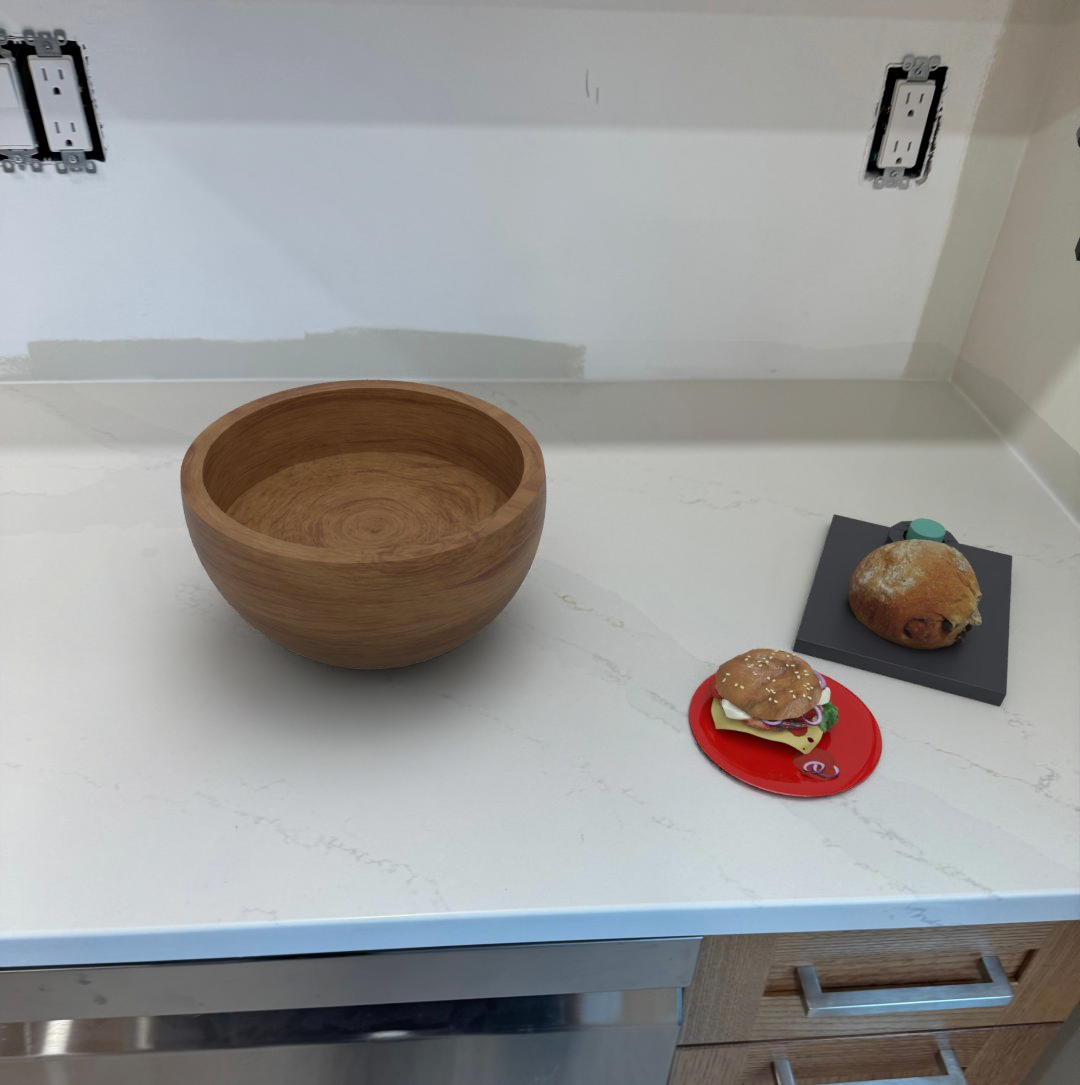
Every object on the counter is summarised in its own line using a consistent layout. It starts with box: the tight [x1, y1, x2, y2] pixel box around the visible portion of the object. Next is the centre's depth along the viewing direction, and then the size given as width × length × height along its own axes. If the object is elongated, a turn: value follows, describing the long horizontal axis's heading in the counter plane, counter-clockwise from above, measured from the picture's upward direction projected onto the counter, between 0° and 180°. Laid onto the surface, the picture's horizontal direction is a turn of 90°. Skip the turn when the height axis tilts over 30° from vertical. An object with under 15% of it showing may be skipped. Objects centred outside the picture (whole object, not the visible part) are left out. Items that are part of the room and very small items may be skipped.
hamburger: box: [688, 646, 883, 798], centre depth 68 cm, size 14×14×6 cm
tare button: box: [905, 517, 947, 543], centre depth 84 cm, size 3×3×2 cm
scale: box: [791, 513, 1013, 707], centre depth 80 cm, size 16×20×3 cm
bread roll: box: [848, 539, 982, 650], centre depth 77 cm, size 10×10×8 cm
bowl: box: [179, 379, 548, 670], centre depth 71 cm, size 25×25×15 cm
